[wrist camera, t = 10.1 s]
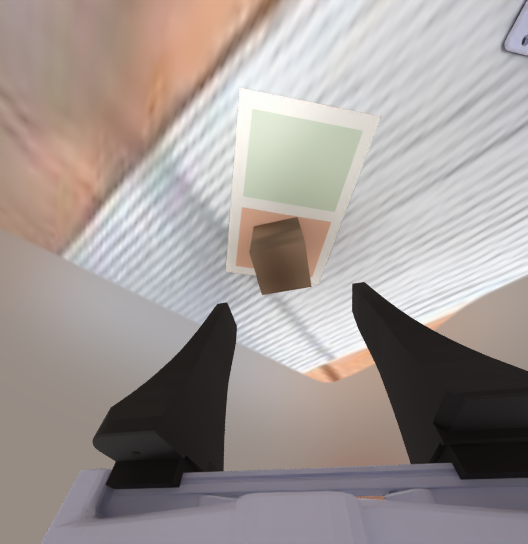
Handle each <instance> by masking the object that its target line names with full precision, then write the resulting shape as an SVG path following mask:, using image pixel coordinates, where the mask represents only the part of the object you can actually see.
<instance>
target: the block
mask: <svg viewBox="0 0 528 544" xmlns="http://www.w3.org/2000/svg"><path fill="white" fill-rule="evenodd" d="M249 254H250V257H251V260H252V263H253V267H254V270H255V273H256V276H257V280H258V283H259V286H260V289H261V293H262V295H265V294H271V293H277V292H283V291H289V290H295V289H301V288H307V287H311V280H310V273H309V266H308V259H307V252H306V246H305V240H304V237H303V234H302V230H301V227H300V224H299V220H298V217H295V218H290V219H285V220H281V221H276V222H271V223H267V224H262V225H257V226H254V227H253V233H252V239H251V245H250V251H249Z"/></svg>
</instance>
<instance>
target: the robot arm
mask: <svg viewBox="0 0 528 544" xmlns="http://www.w3.org/2000/svg"><path fill="white" fill-rule="evenodd" d="M524 37H526V40H525V43H524V44H523V45H522V40H523V38H524ZM505 49H506V50H507V51H510V52H515V53H519V54H523V55H527V56H528V0H527V2H526V4H525V5H524V7H523V9H522V11H521V13H520V15H519V16H518V18H517V20H516V22H515V24H514V26H513V27H512V29H511V31H510V33H509V35H508V37H507V39H506V41H505ZM352 312H353V315H354V318H355V321H356V323H357V326H358V329H359V331H360V333H361V335H362V337H363V339H364V341H365V343H366V345H367V347H368V349H369V351H370V353H371V355H372V357H373V359H374V361H375V363H376V366H377V368H378V370H379V372H380V375H381V378H382V381H383V383H384V386H385V389H386V391H387V394H388V397H389V400H390V402H391V405H392V408H393V411H394V413H395V417H396V420H397V422H398V426H399V429H400V431H401V435H402V438H403V441H404V444H405V447H406V450H407V453H408V456H409V459H410V463H411V464H406V465H381V466H353V467H327V468H300V469H276V470H275V469H274V470H248V471H223V468H224V467H223V466H224V434H225V415H226V402H227V390H228V382H229V376H230V371H231V365H232V360H233V355H234V350H235V344H236V333H237V325H236V323H235V321H234V318H233V316H232V313H231V311H230V308H229V306H228V303H220V304H217V305H216V307H215V308H214V309H213V311H212V312H211V313H210V315H209V316H208V317H207V319H206V320H205V321H204V323H203V324H202V325H201V327H200V328H199V329H198V331H197V332H196V333H195V334H194V336H193V337H192V338H191V339H190V340H189V342H188V343H187V344H186V345H185V346H184V347H183V348H182V350H181V351H180V352H179V353H178V354H177V355H176V356H175V357H174V358H173V359H172V360H171V361H170V362H169V363H168V364H166V365H165V366H164V367H163V368H162V369H161V370H160V371H159V372H158V373H156V374H155V375H154V376H153V377H152V378H150V379H149V380H148V381H147V382H146V383H144V384H143V385H142V386H140V387H139V388H138V389H137V390H135V391H134V392H133V393H132V394H130V395H128V396H127V397H126V398H124V399H123V400H121V401H120V402H118V403H117V404H116V405H114V406H113V407H111V408H110V410H109V412H108V414H107V415H106V417H105V419H104V421H103V423H102V424H101V426H100V428H99V429H98V431H97V433H96V435H95V436H94V438H93V445H94V447H95V448H96V449H97V450H99V451H100V452H102V453H103V454H105V455H106V456H108V457H110V458H111V459H113V460H115V461H116V463H115V465H114V467H113V469H112V470H110V469H84V470H81V471H80V473H79V475H78V476H77V478H76V480H75V482H74V484H73V486H72V487H71V489H70V491H69V493H68V495H67V497H66V498H65V500H64V502H63V504H62V505H61V507H60V509H59V511H58V513H57V515H56V517H55V518H54V520H53V522H52V524H51V525H50V527H49V529H48V531H47V533H46V534H45V536H44V538H43V540H42V542H41V544H528V371H526V370H523V369H520V368H518V367H515V366H513V365H510V364H507V363H505V362H502V361H499V360H497V359H494V358H491V357H489V356H486V355H484V354H482V353H479V352H477V351H474V350H472V349H470V348H468V347H465V346H463V345H461V344H459V343H457V342H455V341H453V340H451V339H448V338H447V337H445V336H443V335H441V334H439V333H437V332H435V331H433V330H431V329H430V328H428V327H426V326H424V325H423V324H421V323H419V322H418V321H416V320H414V319H413V318H411V317H410V316H408V315H407V314H405V313H404V312H402V311H401V310H399V309H398V308H396V307H395V306H394V305H392V304H391V303H390V302H388V301H387V300H386V299H384V298H383V297H382V296H381V295H379V294H378V293H377V292H376V291H374V290H373V289H372V288H371V287H370V286H368V285H367V284H366V283H365V282H361V283H355V284H352ZM355 496H385V497H384V499H385V500H375V499H362V498H355ZM237 499H238V500H237Z"/></svg>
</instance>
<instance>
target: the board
mask: <svg viewBox="0 0 528 544" xmlns="http://www.w3.org/2000/svg"><path fill="white" fill-rule="evenodd" d="M380 119H381V117H380V116H375V115H371V114H366V113H361V112H356V111H351V110H346V109H341V108H336V107H331V106H327V105H322V104H317V103H312V102H307V101H302V100H297V99H292V98H288V97H283V96H278V95H273V94H268V93H263V92H258V91H253V90H248V89H244V88H240V92H239V105H238V118H237V131H236V144H235V157H234V170H233V183H232V196H231V208H230V221H229V234H228V247H227V260H226V272H233V273H240V274H247V275H254V276H256V273H255V270H254V267H253V263H252V260H251V257H250V254H249V251H250V245H251V239H252V233H253V227H254V226H257V225H262V224H267V223H271V222H276V221H281V220H285V219H290V218H295V217H298V220H299V224H300V227H301V230H302V234H303V237H304V240H305V246H306V252H307V259H308V266H309V273H310V280H311V284H315V285H318V284H319V282H320V279H321V276H322V274H323V271H324V268H325V266H326V263H327V260H328V258H329V255H330V252H331V250H332V247H333V244H334V242H335V239H336V236H337V234H338V231H339V228H340V226H341V223H342V220H343V218H344V215H345V212H346V210H347V207H348V204H349V202H350V199H351V196H352V194H353V191H354V188H355V186H356V183H357V180H358V178H359V175H360V172H361V170H362V167H363V164H364V162H365V159H366V156H367V154H368V151H369V148H370V146H371V143H372V140H373V138H374V135H375V132H376V130H377V127H378V124H379V122H380Z"/></svg>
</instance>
